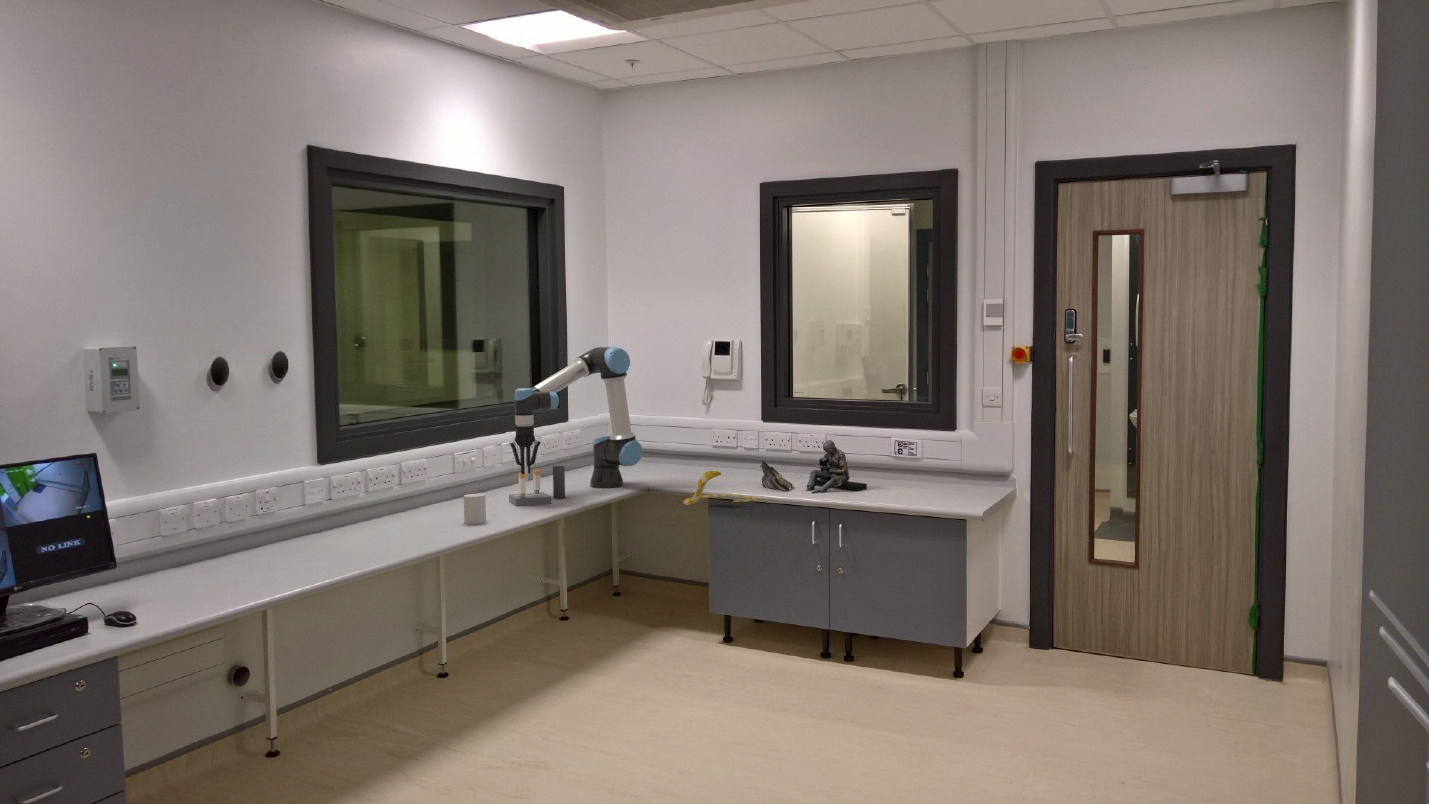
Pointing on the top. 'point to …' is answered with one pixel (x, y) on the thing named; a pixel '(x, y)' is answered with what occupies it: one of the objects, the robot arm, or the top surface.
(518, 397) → the robot arm
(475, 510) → the light grey upright cylinder
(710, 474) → the toy
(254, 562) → the top surface
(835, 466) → the figurine
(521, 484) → the paddle
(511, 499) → the grey tube rack
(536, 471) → the paddle
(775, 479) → the brown ridged tapered piece
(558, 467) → the post
